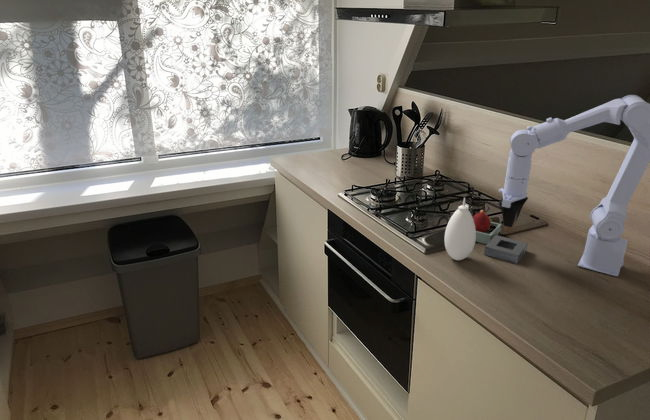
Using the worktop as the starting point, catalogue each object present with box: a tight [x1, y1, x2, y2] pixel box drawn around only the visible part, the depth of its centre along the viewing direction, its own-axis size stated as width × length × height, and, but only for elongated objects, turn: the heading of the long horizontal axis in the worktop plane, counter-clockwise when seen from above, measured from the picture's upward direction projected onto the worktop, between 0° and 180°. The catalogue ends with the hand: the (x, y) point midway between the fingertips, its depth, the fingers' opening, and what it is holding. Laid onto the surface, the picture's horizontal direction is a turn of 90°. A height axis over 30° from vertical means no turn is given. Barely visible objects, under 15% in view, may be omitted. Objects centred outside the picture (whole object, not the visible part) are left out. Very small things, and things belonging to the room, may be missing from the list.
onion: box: [472, 209, 492, 233], centre depth 151 cm, size 6×6×8 cm
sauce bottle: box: [444, 197, 476, 261], centre depth 135 cm, size 8×8×18 cm
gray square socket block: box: [483, 235, 529, 265], centre depth 142 cm, size 9×9×2 cm
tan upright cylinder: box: [501, 212, 518, 234], centre depth 138 cm, size 3×3×7 cm
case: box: [475, 221, 502, 245], centre depth 152 cm, size 10×10×3 cm
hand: (509, 223), depth 139 cm, fingers closed on tan upright cylinder, 3 cm apart
